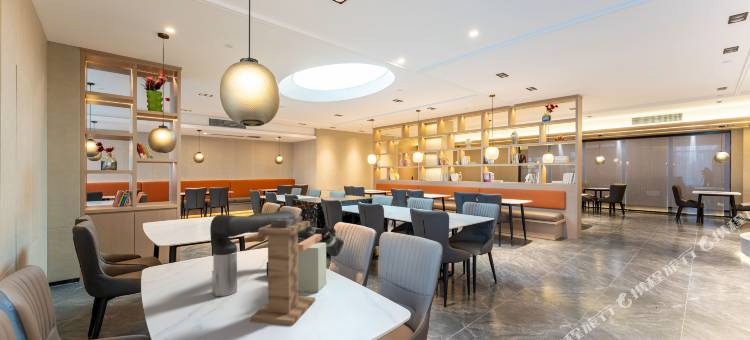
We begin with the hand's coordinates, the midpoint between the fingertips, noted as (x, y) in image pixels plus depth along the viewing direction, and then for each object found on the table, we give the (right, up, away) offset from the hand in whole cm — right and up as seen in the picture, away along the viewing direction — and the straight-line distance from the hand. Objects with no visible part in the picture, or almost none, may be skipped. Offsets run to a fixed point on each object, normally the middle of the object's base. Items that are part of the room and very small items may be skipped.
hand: (316, 226), depth 151 cm
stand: (-6, -26, -31) cm, 41 cm away
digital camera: (-20, -26, +8) cm, 34 cm away
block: (-1, -7, -7) cm, 10 cm away
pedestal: (-2, -26, -7) cm, 27 cm away
